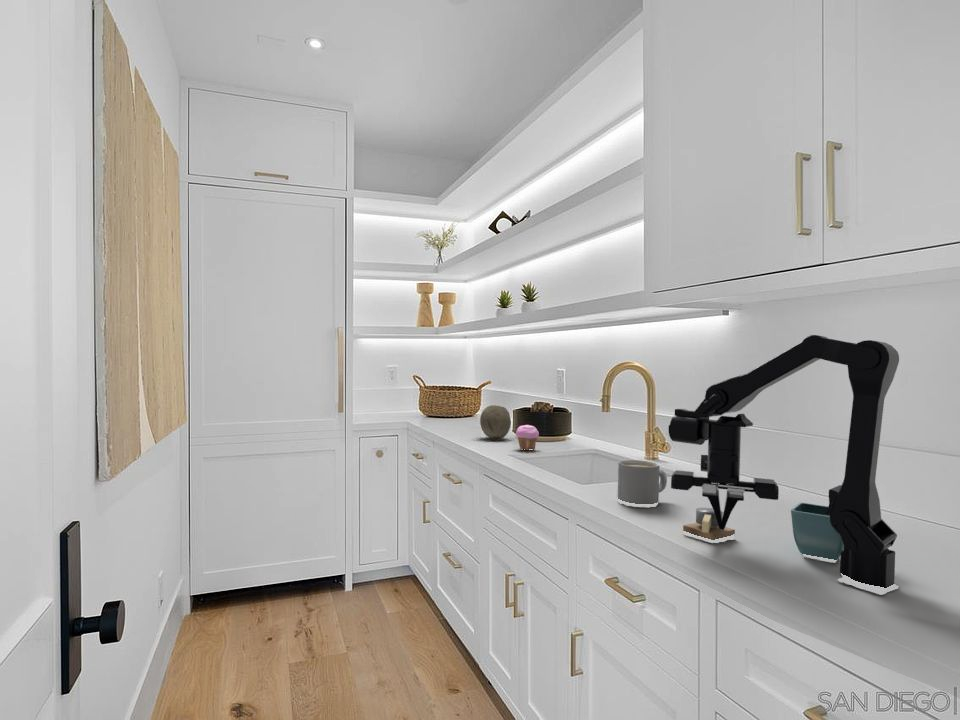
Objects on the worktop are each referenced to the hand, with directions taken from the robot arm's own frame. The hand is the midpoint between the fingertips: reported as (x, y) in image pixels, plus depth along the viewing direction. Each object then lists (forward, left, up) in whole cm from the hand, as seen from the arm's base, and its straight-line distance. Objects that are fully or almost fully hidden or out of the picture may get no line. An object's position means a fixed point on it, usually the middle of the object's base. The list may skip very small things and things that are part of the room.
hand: (721, 528), depth 110 cm
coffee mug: (+31, -13, -4) cm, 34 cm away
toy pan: (+4, -1, -1) cm, 4 cm away
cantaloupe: (+141, -41, -4) cm, 147 cm away
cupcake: (+111, -36, -4) cm, 117 cm away
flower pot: (-13, -11, -4) cm, 17 cm away
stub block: (+5, -3, -4) cm, 7 cm away
